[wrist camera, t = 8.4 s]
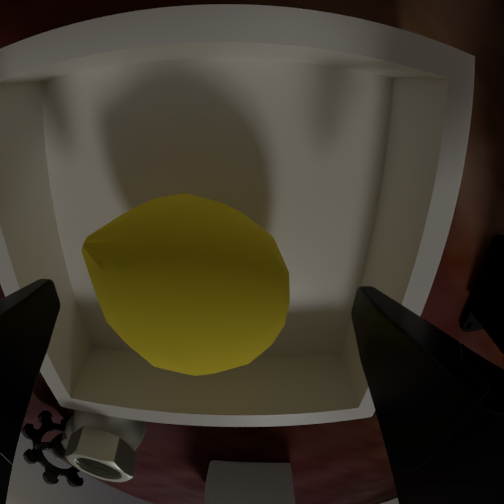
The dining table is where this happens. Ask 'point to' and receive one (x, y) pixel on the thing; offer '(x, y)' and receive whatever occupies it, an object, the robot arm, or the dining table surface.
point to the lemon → (189, 283)
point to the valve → (87, 446)
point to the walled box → (232, 186)
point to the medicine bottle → (249, 483)
